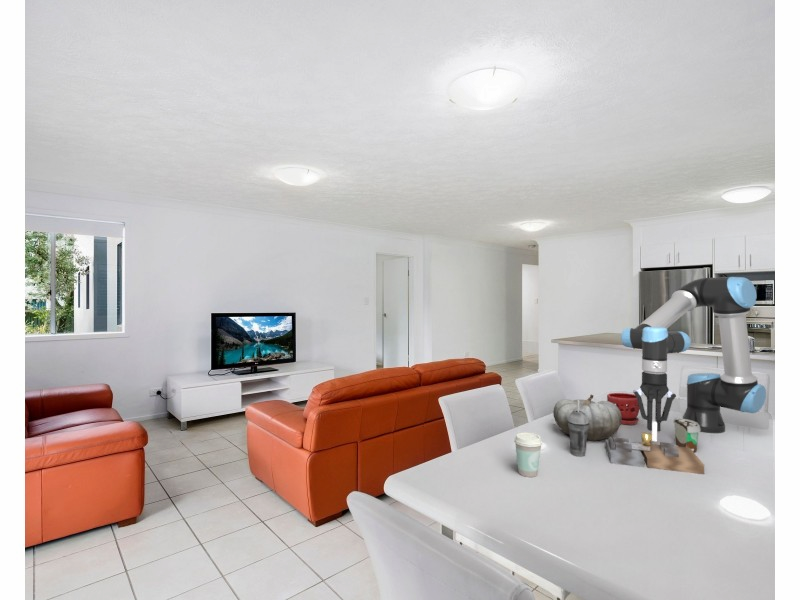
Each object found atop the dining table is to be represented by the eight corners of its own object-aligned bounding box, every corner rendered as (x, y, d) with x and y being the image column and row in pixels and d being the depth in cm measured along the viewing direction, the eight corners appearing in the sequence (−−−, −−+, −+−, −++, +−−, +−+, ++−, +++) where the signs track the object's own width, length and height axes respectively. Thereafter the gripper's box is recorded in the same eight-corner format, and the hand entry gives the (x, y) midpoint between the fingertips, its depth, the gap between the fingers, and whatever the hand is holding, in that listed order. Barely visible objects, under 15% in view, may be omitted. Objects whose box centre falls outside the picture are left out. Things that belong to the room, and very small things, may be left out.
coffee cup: (527, 481, 134) (527, 442, 134) (508, 471, 142) (508, 434, 141) (547, 475, 138) (548, 438, 138) (528, 466, 146) (528, 430, 145)
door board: (689, 456, 154) (689, 441, 154) (704, 474, 139) (704, 457, 139) (605, 447, 163) (605, 432, 163) (610, 463, 148) (610, 447, 148)
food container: (707, 456, 154) (707, 428, 154) (687, 454, 156) (688, 427, 155) (691, 444, 166) (691, 418, 166) (673, 443, 168) (673, 417, 167)
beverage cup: (589, 452, 158) (589, 397, 157) (588, 459, 151) (589, 402, 151) (568, 449, 161) (568, 395, 161) (566, 456, 154) (566, 399, 154)
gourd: (615, 445, 158) (608, 396, 160) (547, 442, 172) (542, 397, 175) (629, 434, 177) (623, 391, 180) (567, 433, 192) (562, 393, 195)
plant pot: (640, 420, 197) (641, 394, 197) (638, 428, 186) (638, 400, 186) (609, 416, 204) (609, 390, 204) (605, 423, 193) (605, 396, 193)
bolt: (650, 448, 152) (650, 432, 152) (652, 451, 150) (652, 435, 149) (623, 445, 155) (623, 430, 155) (624, 448, 152) (624, 432, 152)
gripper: (635, 372, 149) (634, 441, 149) (679, 375, 144) (678, 445, 145) (631, 369, 156) (630, 434, 156) (673, 371, 152) (672, 438, 152)
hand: (653, 439), depth 151 cm, fingers closed
